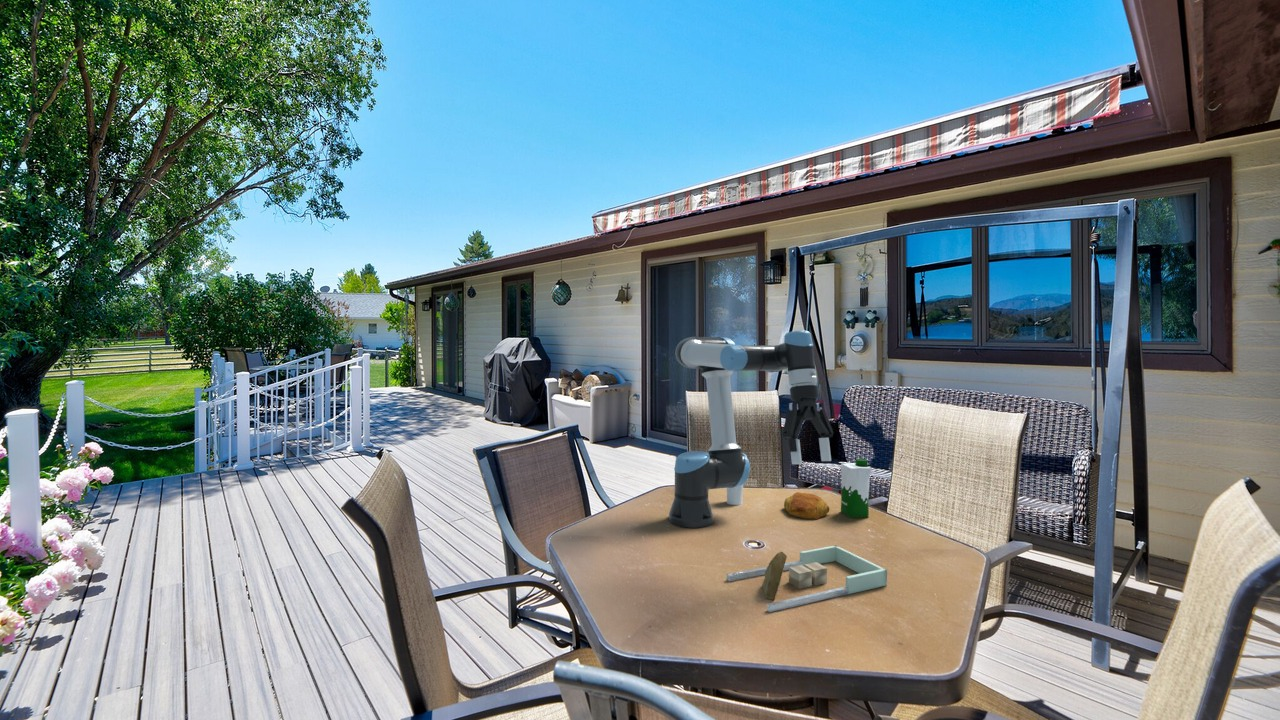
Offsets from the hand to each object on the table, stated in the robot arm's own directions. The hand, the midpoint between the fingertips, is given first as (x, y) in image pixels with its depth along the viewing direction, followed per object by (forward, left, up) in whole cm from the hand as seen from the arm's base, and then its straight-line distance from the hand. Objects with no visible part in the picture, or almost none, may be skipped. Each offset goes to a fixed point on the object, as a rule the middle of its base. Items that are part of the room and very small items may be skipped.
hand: (812, 462), depth 149 cm
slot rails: (-9, -12, -29) cm, 33 cm away
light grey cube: (-5, -10, -29) cm, 31 cm away
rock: (-14, -14, -30) cm, 36 cm away
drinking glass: (-12, +59, -30) cm, 67 cm away
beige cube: (0, -8, -29) cm, 31 cm away
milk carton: (+30, +49, -30) cm, 64 cm away
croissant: (+12, +49, -30) cm, 58 cm away
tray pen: (+7, -4, -29) cm, 30 cm away
